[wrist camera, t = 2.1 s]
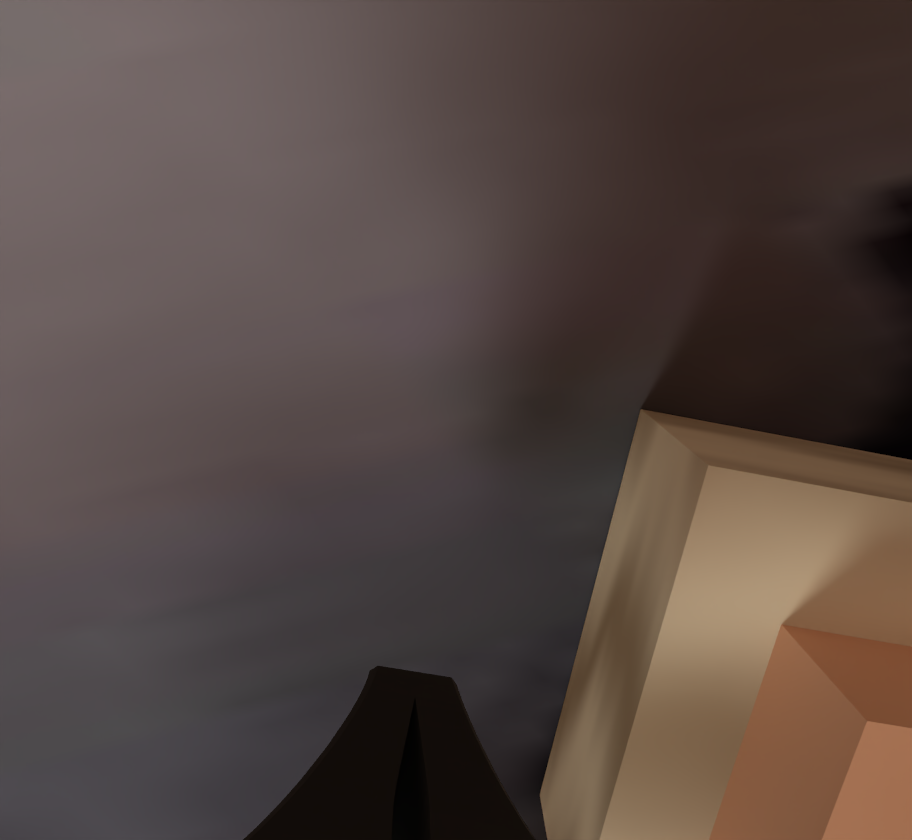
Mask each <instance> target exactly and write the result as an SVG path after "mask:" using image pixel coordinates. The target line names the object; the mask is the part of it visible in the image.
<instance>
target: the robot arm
mask: <svg viewBox="0 0 912 840" xmlns="http://www.w3.org/2000/svg"><path fill="white" fill-rule="evenodd" d="M243 840H535V838H534V837H533V835H532V834H531V832H530V831H529V829H528V827H527V826H526V824H525V823H524V821H523V820H522V818H521V816H520V815H519V813H518V811H517V810H516V808H515V806H514V805H513V803H512V801H511V800H510V798H509V796H508V795H507V793H506V791H505V789H504V787H503V786H502V784H501V782H500V780H499V778H498V777H497V775H496V773H495V771H494V769H493V767H492V765H491V763H490V761H489V759H488V757H487V755H486V753H485V751H484V749H483V747H482V745H481V743H480V741H479V739H478V737H477V735H476V732H475V730H474V728H473V725H472V723H471V721H470V719H469V716H468V714H467V712H466V709H465V707H464V704H463V702H462V699H461V696H460V693H459V691H458V688H457V685H456V683H455V682H454V680H453V679H452V678H451V677H445V676H438V675H432V674H426V673H420V672H414V671H407V670H401V669H395V668H389V667H382V666H377V667H375V668H374V669H372V670H370V672H369V675H368V679H367V681H366V684H365V686H364V688H363V690H362V692H361V694H360V696H359V698H358V700H357V702H356V703H355V705H354V707H353V708H352V710H351V712H350V713H349V715H348V717H347V718H346V720H345V721H344V723H343V724H342V726H341V727H340V728H339V730H338V731H337V733H336V734H335V736H334V737H333V739H332V740H331V742H330V743H329V745H328V746H327V747H326V749H325V750H324V751H323V752H322V754H321V755H320V756H319V758H318V759H317V760H316V761H315V763H314V764H313V765H312V766H311V768H310V769H309V770H308V771H307V773H306V774H305V775H304V776H303V778H302V779H301V780H300V781H299V782H298V784H297V785H296V786H295V787H294V788H293V789H292V790H291V792H290V793H289V794H288V795H287V796H286V797H285V798H284V799H283V800H282V802H281V803H280V804H279V805H278V806H277V807H276V808H275V809H274V810H273V811H272V812H271V813H270V814H269V815H268V816H267V817H266V818H265V819H264V820H263V821H262V822H261V823H260V824H259V825H258V826H257V827H256V828H255V829H254V830H253V831H252V832H251V833H250V834H249V835H248V836H247V837H246V838H244V839H243Z"/></svg>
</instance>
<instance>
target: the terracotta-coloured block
mask: <svg viewBox="0 0 912 840" xmlns="http://www.w3.org/2000/svg"><path fill="white" fill-rule="evenodd" d="M709 840H912V647H911V646H905V645H899V644H893V643H887V642H881V641H876V640H870V639H864V638H858V637H852V636H846V635H840V634H835V633H829V632H823V631H817V630H811V629H805V628H799V627H794V626H788V625H782V624H781V627H780V630H779V632H778V635H777V638H776V641H775V644H774V647H773V650H772V653H771V656H770V659H769V662H768V665H767V668H766V671H765V674H764V677H763V680H762V683H761V686H760V689H759V692H758V695H757V698H756V701H755V704H754V707H753V710H752V713H751V716H750V719H749V722H748V725H747V728H746V731H745V734H744V737H743V740H742V743H741V746H740V749H739V752H738V755H737V758H736V761H735V764H734V767H733V770H732V773H731V776H730V778H729V781H728V784H727V787H726V790H725V793H724V796H723V799H722V802H721V805H720V808H719V811H718V814H717V817H716V820H715V823H714V826H713V829H712V832H711V835H710V838H709Z"/></svg>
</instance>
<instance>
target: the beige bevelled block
mask: <svg viewBox="0 0 912 840" xmlns="http://www.w3.org/2000/svg"><path fill="white" fill-rule="evenodd" d="M781 624H782V625H788V626H794V627H799V628H805V629H811V630H817V631H823V632H829V633H835V634H840V635H846V636H852V637H858V638H864V639H870V640H876V641H881V642H887V643H893V644H899V645H905V646H911V647H912V460H909V459H904V458H899V457H893V456H888V455H883V454H877V453H872V452H867V451H861V450H856V449H851V448H845V447H840V446H835V445H829V444H824V443H819V442H813V441H808V440H803V439H797V438H792V437H787V436H781V435H776V434H771V433H766V432H760V431H755V430H750V429H744V428H739V427H734V426H728V425H723V424H718V423H712V422H707V421H702V420H696V419H691V418H686V417H680V416H675V415H670V414H664V413H659V412H654V411H648V410H643V409H641V410H640V414H639V417H638V421H637V425H636V429H635V433H634V436H633V440H632V444H631V448H630V452H629V456H628V459H627V463H626V467H625V471H624V475H623V478H622V482H621V486H620V490H619V494H618V498H617V501H616V505H615V509H614V513H613V517H612V520H611V524H610V528H609V532H608V536H607V539H606V543H605V547H604V551H603V555H602V559H601V562H600V566H599V570H598V574H597V578H596V581H595V585H594V589H593V593H592V597H591V601H590V604H589V608H588V612H587V616H586V620H585V623H584V627H583V631H582V635H581V639H580V643H579V646H578V650H577V654H576V658H575V662H574V665H573V669H572V673H571V677H570V681H569V685H568V688H567V692H566V696H565V700H564V704H563V707H562V711H561V715H560V719H559V723H558V727H557V730H556V734H555V738H554V742H553V746H552V749H551V753H550V757H549V761H548V765H547V769H546V772H545V776H544V780H543V784H542V788H541V791H540V800H541V806H542V811H543V817H544V823H545V829H546V835H547V840H709V838H710V835H711V832H712V829H713V826H714V823H715V820H716V817H717V814H718V811H719V808H720V805H721V802H722V799H723V796H724V793H725V790H726V787H727V784H728V781H729V778H730V776H731V773H732V770H733V767H734V764H735V761H736V758H737V755H738V752H739V749H740V746H741V743H742V740H743V737H744V734H745V731H746V728H747V725H748V722H749V719H750V716H751V713H752V710H753V707H754V704H755V701H756V698H757V695H758V692H759V689H760V686H761V683H762V680H763V677H764V674H765V671H766V668H767V665H768V662H769V659H770V656H771V653H772V650H773V647H774V644H775V641H776V638H777V635H778V632H779V630H780V627H781Z"/></svg>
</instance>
